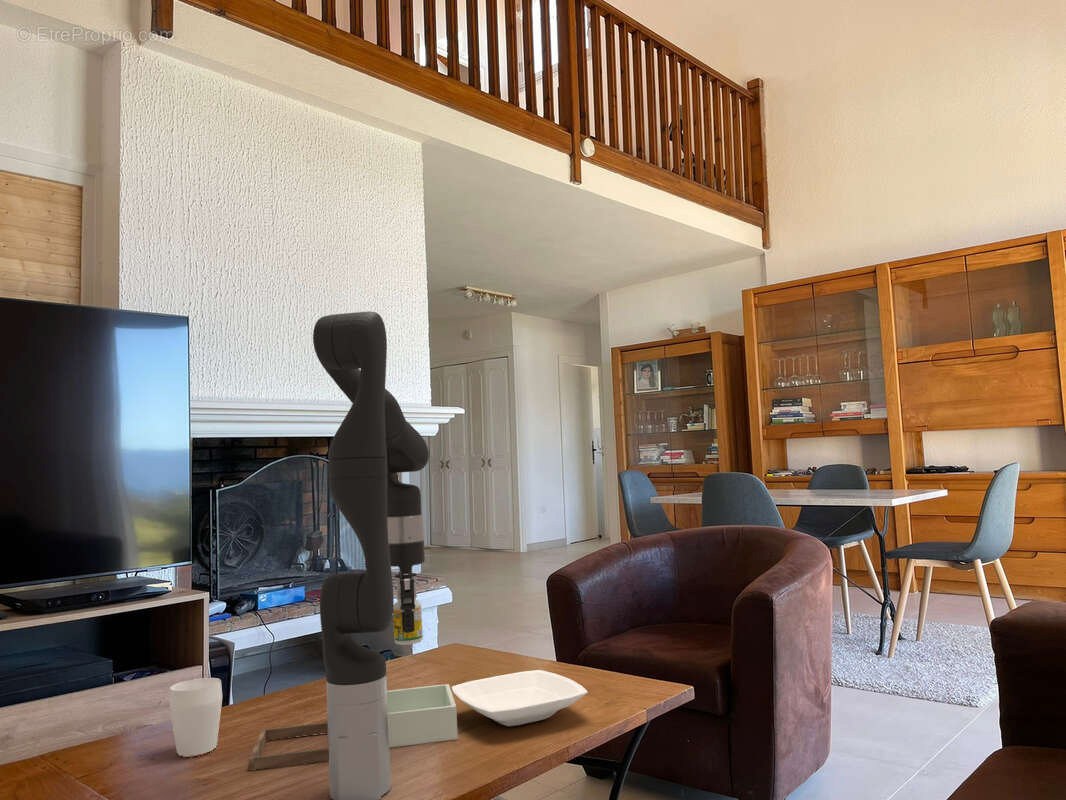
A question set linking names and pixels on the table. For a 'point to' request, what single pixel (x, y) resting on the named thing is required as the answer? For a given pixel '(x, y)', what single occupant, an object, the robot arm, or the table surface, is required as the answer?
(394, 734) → the plastic bin
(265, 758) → the walnut frame
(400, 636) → the supplement bottle
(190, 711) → the cup
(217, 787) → the table surface
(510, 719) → the bowl
